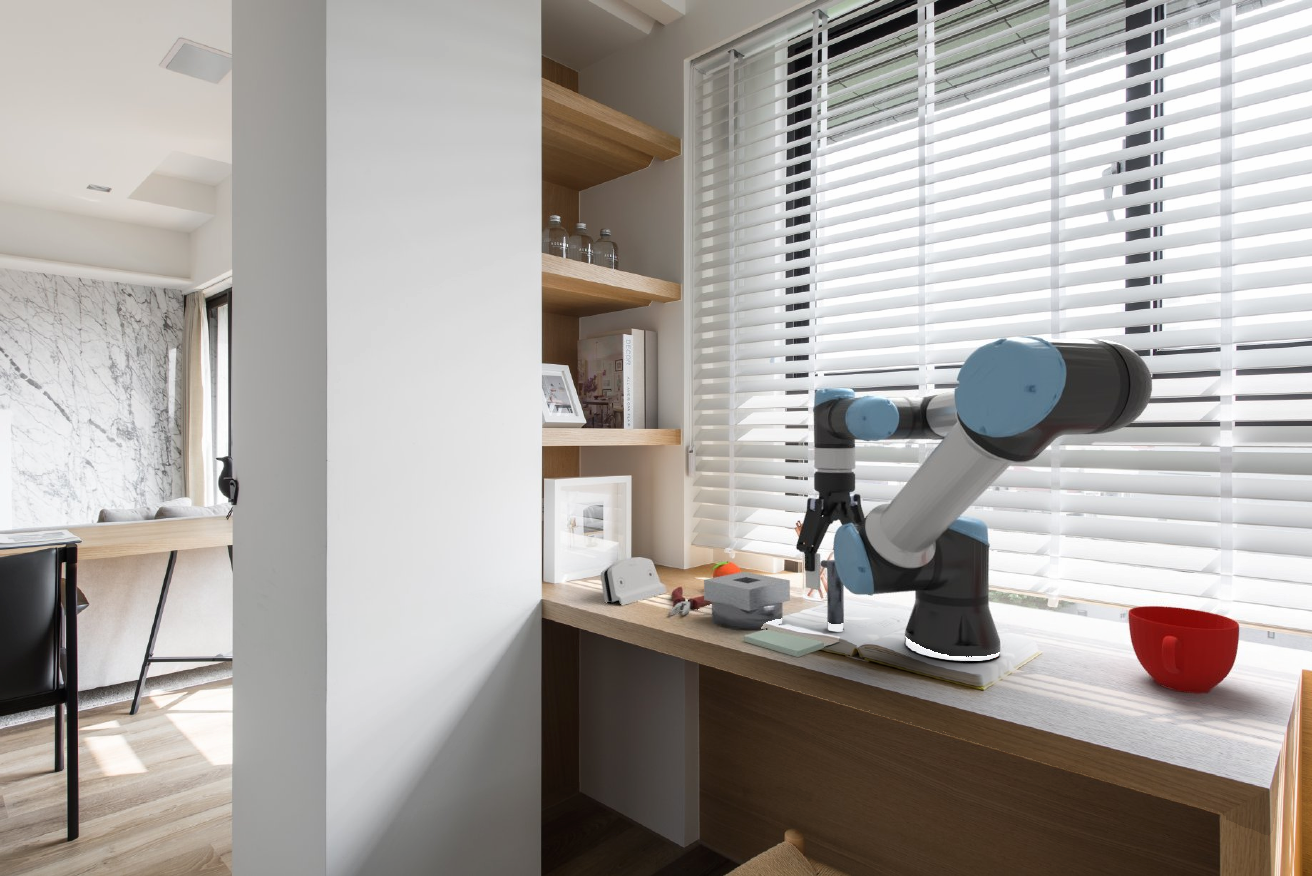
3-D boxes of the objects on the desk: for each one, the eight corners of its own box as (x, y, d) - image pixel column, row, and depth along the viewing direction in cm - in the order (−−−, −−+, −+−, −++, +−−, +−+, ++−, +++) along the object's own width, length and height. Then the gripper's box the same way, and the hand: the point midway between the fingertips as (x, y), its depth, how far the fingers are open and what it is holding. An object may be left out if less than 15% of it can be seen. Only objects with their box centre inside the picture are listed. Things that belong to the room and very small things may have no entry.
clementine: (719, 596, 159) (718, 565, 159) (703, 590, 166) (703, 560, 166) (748, 592, 163) (748, 562, 163) (732, 587, 169) (731, 557, 169)
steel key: (854, 632, 130) (854, 562, 130) (845, 635, 129) (845, 564, 128) (826, 625, 135) (825, 558, 135) (816, 628, 133) (816, 560, 133)
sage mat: (839, 642, 124) (839, 636, 124) (797, 657, 116) (797, 651, 116) (786, 628, 133) (786, 623, 133) (743, 641, 125) (743, 635, 125)
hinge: (621, 606, 151) (609, 561, 153) (606, 611, 154) (594, 566, 156) (668, 592, 164) (656, 550, 166) (653, 596, 167) (641, 555, 169)
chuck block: (797, 620, 139) (796, 580, 139) (750, 634, 130) (749, 591, 129) (744, 607, 149) (744, 570, 149) (697, 619, 140) (697, 579, 140)
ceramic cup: (1112, 692, 100) (1112, 622, 100) (1139, 664, 112) (1139, 601, 111) (1228, 718, 90) (1228, 641, 90) (1244, 684, 102) (1244, 616, 102)
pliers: (648, 618, 143) (648, 605, 143) (676, 596, 162) (676, 585, 162) (703, 623, 140) (703, 610, 140) (725, 600, 159) (725, 588, 159)
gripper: (854, 467, 143) (855, 570, 143) (776, 472, 126) (776, 589, 127) (888, 468, 137) (888, 576, 137) (810, 474, 121) (810, 597, 121)
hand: (834, 583), depth 132 cm, fingers open, 13 cm apart
